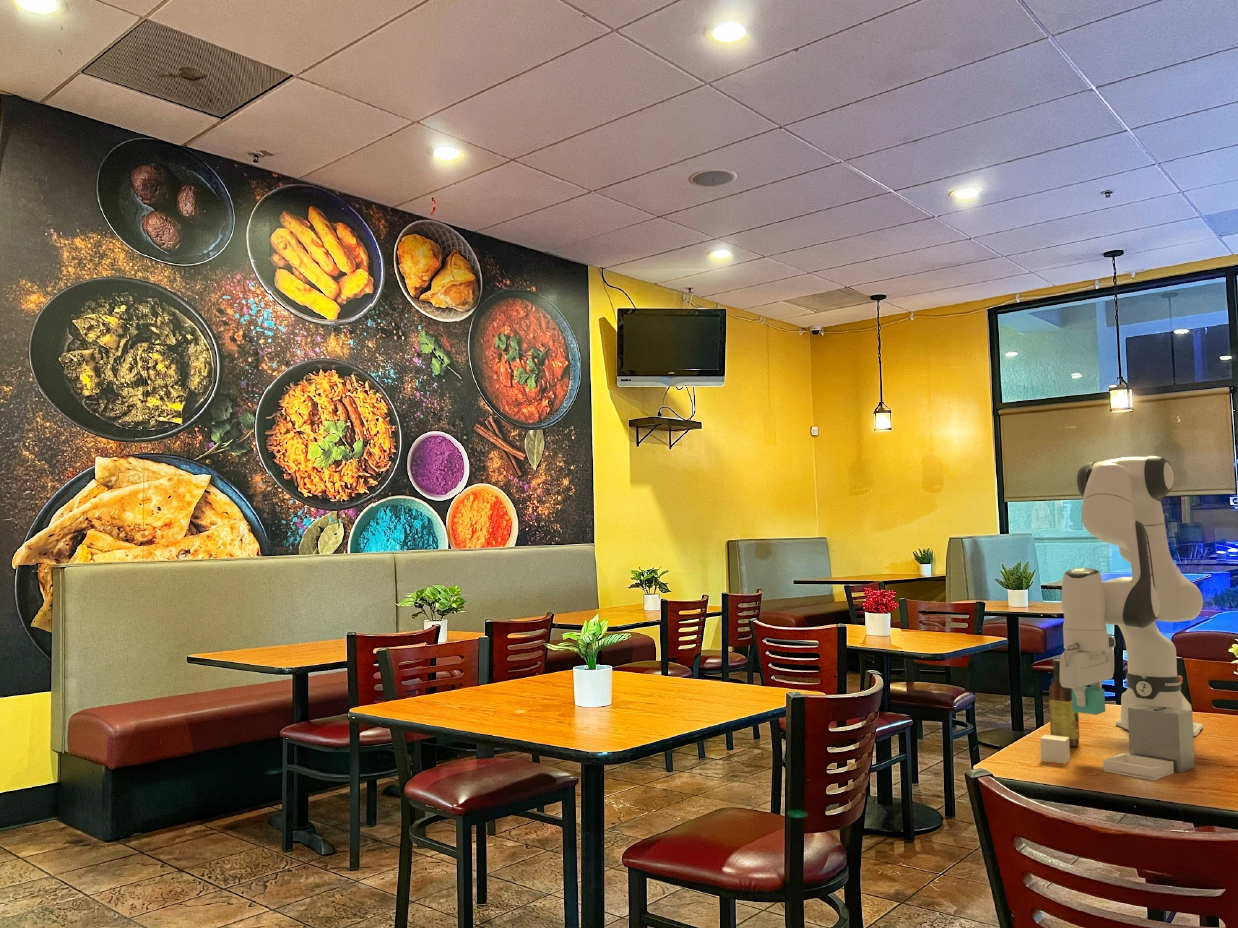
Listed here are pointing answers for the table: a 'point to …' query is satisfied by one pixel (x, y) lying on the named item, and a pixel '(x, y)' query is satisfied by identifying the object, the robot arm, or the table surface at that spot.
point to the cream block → (1055, 749)
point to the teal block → (1091, 701)
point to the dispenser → (1162, 734)
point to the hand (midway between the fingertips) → (1088, 703)
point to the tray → (1138, 766)
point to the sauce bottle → (1062, 709)
